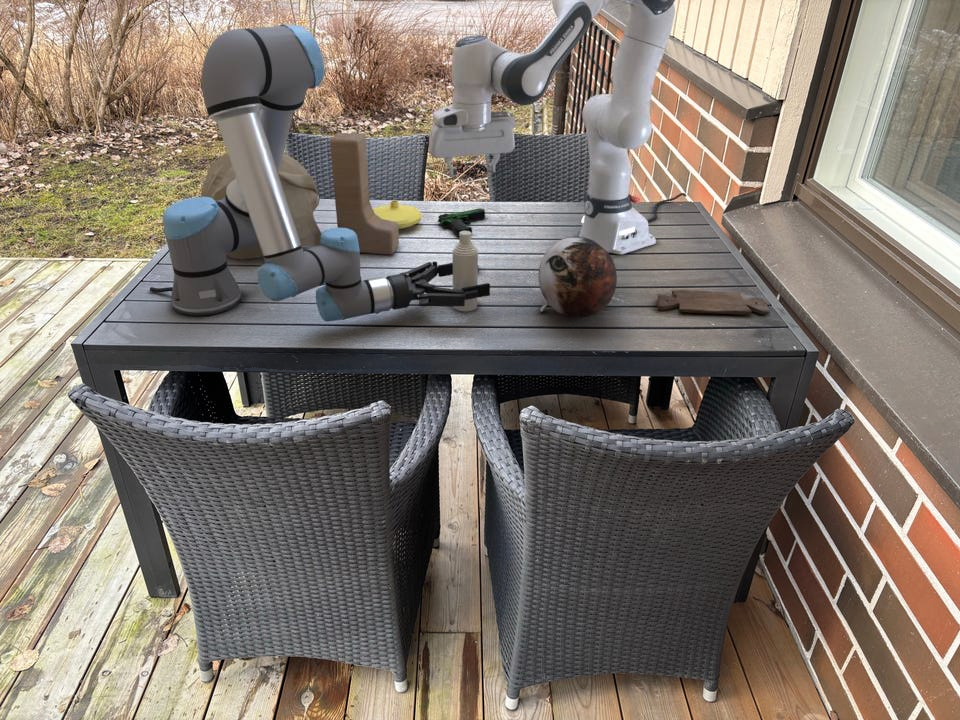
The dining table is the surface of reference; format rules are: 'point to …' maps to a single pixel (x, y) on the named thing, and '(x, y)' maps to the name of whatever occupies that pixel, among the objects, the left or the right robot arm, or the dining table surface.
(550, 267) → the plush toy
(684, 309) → the dark wooden board
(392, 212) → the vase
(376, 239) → the decorative block
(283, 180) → the helmet
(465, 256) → the bottle
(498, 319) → the dining table surface
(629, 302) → the dining table surface
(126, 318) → the dining table surface
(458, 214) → the handgun
